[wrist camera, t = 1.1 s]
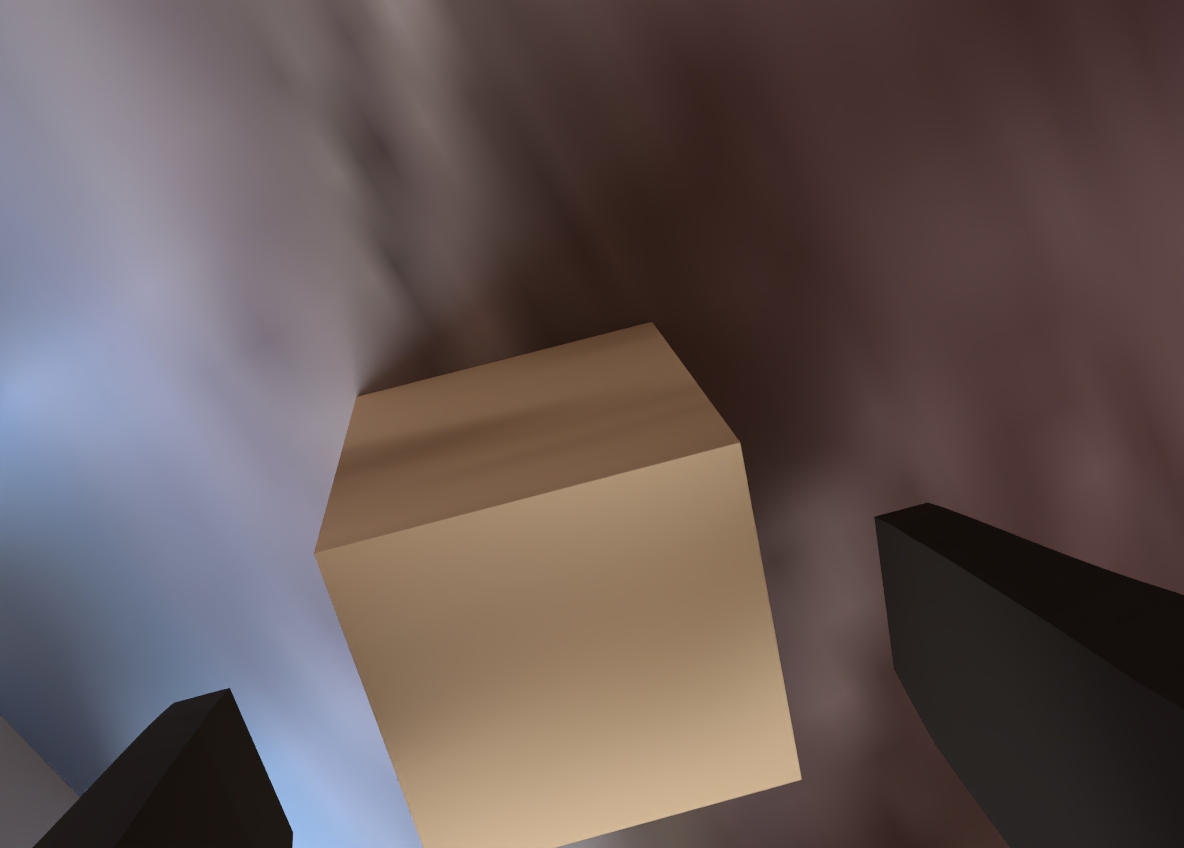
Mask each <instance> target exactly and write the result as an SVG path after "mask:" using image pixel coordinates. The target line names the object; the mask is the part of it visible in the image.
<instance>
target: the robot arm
mask: <svg viewBox="0 0 1184 848" xmlns="http://www.w3.org/2000/svg"><path fill="white" fill-rule="evenodd" d="M874 518H875V525H876V533H877V541H878V548H879V556H880V564H881V572H882V579H883V587H884V595H885V602H886V610H887V618H888V626H889V633H890V641H891V649H892V656H893V664H894V670H895V671H896V673H897V675H898V677H899V679H900V681H901V683H902V685H903V686H904V688H905V690H906V692H907V694H908V696H909V698H910V700H911V702H912V703H913V705H914V707H915V709H916V711H917V713H918V714H919V716H920V718H921V720H922V722H923V723H924V725H925V727H926V729H927V730H928V732H929V734H930V736H931V737H932V739H933V741H934V743H935V745H936V746H937V747H938V749H939V750H940V752H941V753H942V754H943V756H944V757H945V759H946V760H947V761H948V763H949V764H950V766H951V767H952V768H953V770H954V771H955V773H956V774H957V775H958V777H959V778H960V779H961V781H962V782H963V784H964V785H965V786H966V788H967V789H968V790H969V792H970V793H971V795H972V796H973V797H974V799H975V800H976V802H977V803H978V804H979V806H980V807H981V808H982V810H983V811H984V812H985V814H986V815H987V816H988V818H989V819H990V821H991V822H992V823H993V825H994V826H995V827H996V829H997V830H998V831H999V833H1000V834H1001V835H1002V837H1003V838H1004V840H1005V841H1006V842H1007V844H1008V845H1009V846H1010V848H1184V595H1182V594H1179V593H1176V592H1172V591H1169V590H1166V589H1163V588H1160V587H1157V586H1154V585H1150V584H1147V583H1144V582H1141V581H1138V580H1135V579H1132V578H1129V577H1126V576H1123V575H1120V574H1117V573H1115V572H1112V571H1109V570H1106V569H1103V568H1100V567H1098V566H1095V565H1092V564H1089V563H1087V562H1084V561H1081V560H1078V559H1076V558H1073V557H1070V556H1068V555H1065V554H1062V553H1060V552H1057V551H1055V550H1052V549H1049V548H1047V547H1044V546H1042V545H1039V544H1036V543H1034V542H1031V541H1029V540H1026V539H1024V538H1021V537H1019V536H1016V535H1014V534H1011V533H1008V532H1006V531H1003V530H1001V529H998V528H996V527H993V526H991V525H988V524H986V523H983V522H981V521H978V520H975V519H973V518H970V517H968V516H965V515H963V514H960V513H957V512H954V511H952V510H949V509H946V508H943V507H940V506H937V505H934V504H930V503H925V504H921V505H917V506H913V507H909V508H906V509H902V510H898V511H894V512H891V513H887V514H883V515H879V516H876V517H874ZM292 842H293V831H292V829H291V827H290V825H289V822H288V820H287V818H286V815H285V813H284V811H283V809H282V806H281V804H280V802H279V799H278V797H277V795H276V793H275V790H274V788H273V786H272V783H271V781H270V779H269V777H268V774H267V772H266V770H265V767H264V765H263V763H262V761H261V758H260V756H259V754H258V752H257V749H256V747H255V745H254V742H253V740H252V738H251V736H250V733H249V731H248V729H247V726H246V724H245V722H244V720H243V717H242V715H241V713H240V710H239V708H238V706H237V704H236V701H235V699H234V697H233V694H232V692H231V690H230V688H228V689H224V690H220V691H217V692H213V693H209V694H205V695H202V696H198V697H194V698H190V699H186V700H183V701H179V702H175V703H173V704H172V705H171V706H170V707H169V708H167V709H166V710H165V711H164V712H163V713H162V714H161V715H160V716H158V717H157V718H156V719H155V720H154V721H153V722H152V723H151V724H150V725H149V726H148V727H147V728H146V729H145V730H144V731H143V732H142V733H141V734H140V735H139V736H138V737H137V738H136V739H135V740H134V741H133V742H132V743H131V745H130V746H129V747H128V748H127V749H126V750H125V751H124V752H123V753H122V754H121V755H120V756H119V757H118V758H117V759H116V760H115V761H114V762H113V763H112V764H111V766H110V767H109V768H108V769H107V770H106V771H105V772H104V773H103V774H102V775H101V776H100V777H99V778H98V779H97V780H96V781H95V782H94V784H93V785H92V786H91V787H90V788H89V789H88V790H87V791H86V792H85V793H84V794H83V795H82V796H81V797H80V798H79V799H78V800H77V801H76V802H75V803H74V805H73V806H72V807H71V808H70V809H69V810H68V811H67V812H66V813H65V814H64V815H63V816H62V817H61V818H60V819H59V820H58V821H57V822H56V823H55V824H54V826H53V827H52V828H51V829H50V830H49V831H48V832H47V833H46V834H45V835H44V836H43V837H42V838H41V839H40V840H39V841H38V842H37V843H36V844H35V845H34V846H33V847H32V848H292Z"/></svg>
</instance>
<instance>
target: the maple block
mask: <svg viewBox="0 0 1184 848" xmlns="http://www.w3.org/2000/svg"><path fill="white" fill-rule="evenodd" d="M314 555H315V558H316V560H317V563H318V566H319V568H320V571H321V574H322V576H323V579H324V582H325V584H326V587H327V590H328V592H329V595H330V598H331V601H332V603H333V606H334V609H335V611H336V614H337V617H338V619H339V622H340V625H341V627H342V630H343V633H344V635H345V638H346V641H347V644H348V646H349V649H350V652H351V654H352V657H353V660H354V662H355V665H356V668H357V670H358V673H359V676H360V679H361V681H362V684H363V687H364V689H365V692H366V695H367V697H368V700H369V703H370V705H371V708H372V711H373V713H374V716H375V719H376V722H377V724H378V727H379V730H380V732H381V735H382V738H383V740H384V743H385V746H386V748H387V751H388V754H389V756H390V759H391V762H392V765H393V767H394V770H395V773H396V775H397V778H398V781H399V783H400V786H401V789H402V791H403V794H404V797H405V799H406V802H407V805H408V808H409V810H410V813H411V816H412V818H413V821H414V824H415V826H416V829H417V832H418V834H419V837H420V840H421V842H422V845H423V848H556V847H559V846H563V845H567V844H570V843H574V842H577V841H581V840H585V839H588V838H592V837H596V836H599V835H603V834H607V833H610V832H614V831H617V830H621V829H625V828H628V827H632V826H636V825H639V824H643V823H646V822H650V821H654V820H657V819H661V818H665V817H668V816H672V815H675V814H679V813H683V812H686V811H690V810H694V809H697V808H701V807H704V806H708V805H712V804H715V803H719V802H723V801H726V800H730V799H734V798H737V797H741V796H744V795H748V794H752V793H755V792H759V791H763V790H766V789H770V788H773V787H777V786H781V785H784V784H788V783H792V782H795V781H799V780H802V779H801V773H800V768H799V762H798V757H797V751H796V746H795V740H794V735H793V729H792V724H791V718H790V713H789V708H788V702H787V697H786V691H785V686H784V680H783V675H782V669H781V664H780V658H779V653H778V647H777V642H776V636H775V631H774V625H773V620H772V614H771V609H770V603H769V598H768V592H767V587H766V581H765V576H764V570H763V565H762V559H761V554H760V548H759V543H758V537H757V532H756V526H755V521H754V515H753V510H752V504H751V499H750V494H749V488H748V483H747V477H746V472H745V466H744V461H743V455H742V450H741V444H740V441H739V440H738V439H737V437H736V436H735V435H734V433H733V432H732V431H731V429H730V428H729V426H728V425H727V424H726V422H725V421H724V420H723V418H722V417H721V416H720V414H719V413H718V411H717V410H716V409H715V407H714V406H713V405H712V403H711V402H710V400H709V399H708V398H707V396H706V395H705V394H704V392H703V391H702V390H701V388H700V387H699V385H698V384H697V383H696V381H695V380H694V379H693V377H692V376H691V374H690V373H689V372H688V370H687V369H686V368H685V366H684V365H683V364H682V362H681V361H680V359H679V358H678V357H677V355H676V354H675V353H674V351H673V350H672V348H671V347H670V346H669V344H668V343H667V342H666V340H665V339H664V338H663V336H662V335H661V333H660V332H659V331H658V329H657V328H656V327H655V325H654V324H653V322H649V323H645V324H642V325H638V326H634V327H630V328H626V329H622V330H618V331H614V332H610V333H606V334H602V335H598V336H594V337H590V338H586V339H583V340H579V341H575V342H571V343H567V344H563V345H559V346H555V347H551V348H547V349H543V350H539V351H535V352H531V353H527V354H523V355H520V356H516V357H512V358H508V359H504V360H500V361H496V362H492V363H488V364H484V365H480V366H476V367H472V368H468V369H464V370H461V371H457V372H453V373H449V374H445V375H441V376H437V377H433V378H429V379H425V380H421V381H417V382H413V383H409V384H405V385H401V386H398V387H394V388H390V389H386V390H382V391H378V392H374V393H370V394H366V395H362V396H358V397H356V401H355V404H354V408H353V412H352V416H351V419H350V423H349V427H348V430H347V434H346V438H345V441H344V445H343V449H342V452H341V456H340V460H339V463H338V467H337V471H336V474H335V478H334V482H333V485H332V489H331V493H330V496H329V500H328V504H327V507H326V511H325V515H324V518H323V522H322V526H321V530H320V533H319V537H318V541H317V544H316V548H315V552H314Z"/></svg>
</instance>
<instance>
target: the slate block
mask: <svg viewBox="0 0 1184 848" xmlns="http://www.w3.org/2000/svg"><path fill="white" fill-rule="evenodd" d="M79 798H80V797H79V796H78V795H77V794H76V793H75V792H74V791H73V790H72V788H71V787H70V786H69V785H68V784H67V783H66V782H65V781H64V780H63V779H62V778H61V777H60V776H59V775H58V774H57V773H56V772H55V771H54V770H53V769H52V768H51V767H50V766H49V765H48V764H47V763H46V761H45V760H44V759H43V758H42V757H41V756H40V755H39V754H38V753H37V752H36V751H35V750H34V749H33V748H32V747H31V746H30V745H29V744H28V743H27V742H26V741H25V740H24V739H23V738H22V737H21V736H20V735H19V733H18V732H17V731H16V730H15V729H14V728H13V727H12V726H11V725H10V724H9V723H8V722H7V721H6V720H5V719H4V718H3V717H2V716H1V715H0V848H32V847H33V846H34V845H35V844H36V843H37V842H38V841H39V840H40V839H41V838H42V837H43V836H44V835H45V834H46V833H47V832H48V831H49V830H50V829H51V828H52V827H53V826H54V824H55V823H56V822H57V821H58V820H59V819H60V818H61V817H62V816H63V815H64V814H65V813H66V812H67V811H68V810H69V809H70V808H71V807H72V806H73V805H74V803H75V802H76V801H77V800H78V799H79Z"/></svg>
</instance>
